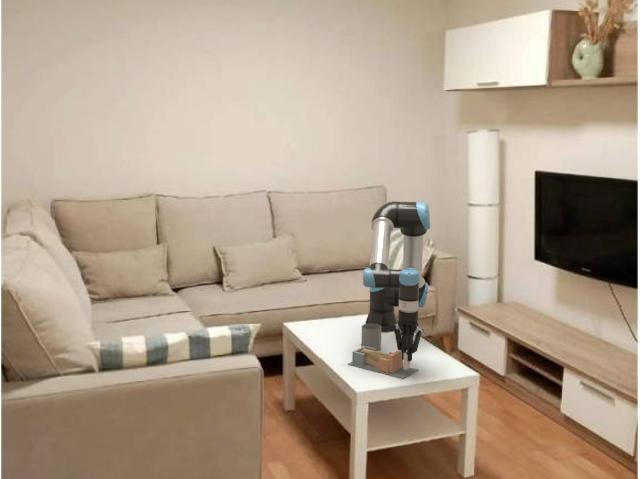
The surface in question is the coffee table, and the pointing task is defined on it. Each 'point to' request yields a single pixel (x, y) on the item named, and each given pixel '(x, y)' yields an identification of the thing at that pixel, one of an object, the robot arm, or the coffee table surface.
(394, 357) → the endcap
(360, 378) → the coffee table surface
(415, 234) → the robot arm
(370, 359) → the tan wooden block
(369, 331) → the cup
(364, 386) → the coffee table surface
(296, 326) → the coffee table surface
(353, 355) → the seat
